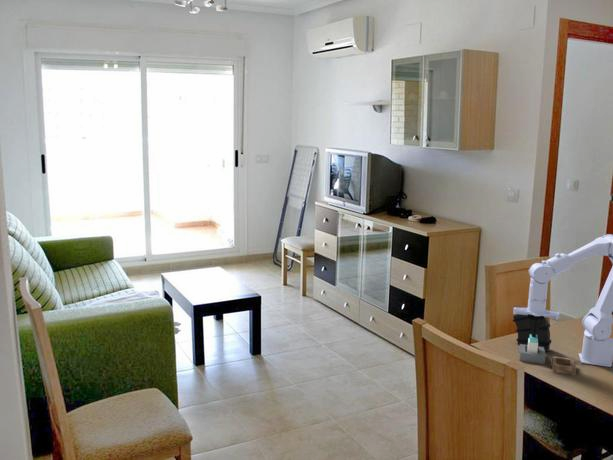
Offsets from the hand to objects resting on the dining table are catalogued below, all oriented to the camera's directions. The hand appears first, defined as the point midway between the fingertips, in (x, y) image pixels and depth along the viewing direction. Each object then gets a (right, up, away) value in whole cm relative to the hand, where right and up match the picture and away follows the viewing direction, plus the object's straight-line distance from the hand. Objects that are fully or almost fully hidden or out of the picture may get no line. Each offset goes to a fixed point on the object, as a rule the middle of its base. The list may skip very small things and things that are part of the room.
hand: (533, 335), depth 199 cm
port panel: (0, -8, +2) cm, 8 cm away
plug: (0, -8, +1) cm, 8 cm away
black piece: (+3, -6, +12) cm, 14 cm away
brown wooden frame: (+7, -10, -7) cm, 14 cm away
